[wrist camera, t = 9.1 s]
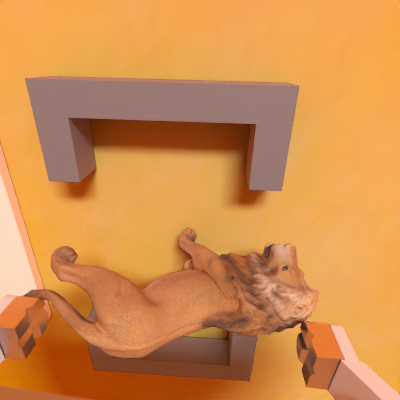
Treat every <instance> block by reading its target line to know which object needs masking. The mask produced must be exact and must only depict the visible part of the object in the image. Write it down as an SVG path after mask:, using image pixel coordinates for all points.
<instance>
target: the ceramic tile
mask: <svg viewBox="0 0 400 400" xmlns="http://www.w3.org/2000/svg"><path fill="white" fill-rule="evenodd" d="M35 289H36V290H37V289H44V287H43V284H42V280H41V277H40V274H39V270H38V267H37V264H36V260H35V257H34V254H33V250H32V247H31V244H30V240H29V237H28V234H27V230H26V227H25V224H24V220H23V217H22V214H21V210H20V207H19V204H18V201H17V197H16V194H15V191H14V187H13V184H12V181H11V177H10V174H9V171H8V167H7V164H6V161H5V157H4V154H3V151H2V147H1V144H0V300H1V299H2V298H3V297H4V296H6V295H16V296H23V295H25V294H26V293H28V292H29V291H30V290H35ZM44 302H45V306H44V307H43V308H44V309H45V310H46V311H47V312H48V319H49V317H50V316H51V310H50V307H49V304H48V300H44Z"/></svg>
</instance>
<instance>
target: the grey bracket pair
mask: <svg viewBox="0 0 400 400" xmlns="http://www.w3.org/2000/svg"><path fill="white" fill-rule="evenodd" d="M25 80H26V85H27V89H28V93H29V97H30V102H31V106H32V110H33V114H34V119H35V123H36V127H37V131H38V135H39V140H40V144H41V148H42V152H43V157H44V161H45V165H46V169H47V174H48V178H49V181H60V182H81V181H82V180H83V179H84V178H86V177H87V176H88V175H89V174H90V173H91V172H92V171H94V170H95V169H96V162H95V156H94V149H93V142H92V136H91V129H90V123H89V118H93V119H122V120H152V121H181V122H211V123H240V124H250V131H249V141H248V151H247V161H246V171H245V176H246V180H247V184H248V188H249V190H267V191H282V186H283V180H284V174H285V168H286V162H287V156H288V150H289V144H290V138H291V132H292V126H293V120H294V114H295V108H296V102H297V96H298V90H299V86H297V85H293V84H290V83H275V82H239V81H204V80H168V79H132V78H96V77H60V76H48V77H37V78H25ZM95 317H96V313H95V310H94V307H93V308H92V310H91V312H90V314H89V316H88V318H87V320H90V319H92V318H95ZM256 340H257V335H243V334H239V333H232V332H229V339H212V338H197V337H182V336H181V337H179V338H176V339H174V340H172V341H170V342H168V343H166V344H164V345H163V346H161V347H159V348H158V349H156V350H155V351H153V352H151V353H150V354H148V355H146V356H144V357H140V358H119V357H114V356H110V355H108V354H106V353H105V352H104V351H103V350H101V349H100V347H98V346H95V345H92V344H91V343H89V342H87V343H88V347H89V352H90V356H91V360H92V364H93V369H94V370H100V371H114V372H128V373H142V374H156V375H170V376H184V377H198V378H212V379H226V380H240V381H250V376H251V370H252V364H253V358H254V352H255V346H256Z"/></svg>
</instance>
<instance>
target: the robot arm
mask: <svg viewBox="0 0 400 400" xmlns="http://www.w3.org/2000/svg"><path fill="white" fill-rule="evenodd" d="M44 306H45V302H44V300H43V299H42V298H34V297H26V296H16V295H6V296H4V297H3V298H2V299H1V300H0V363H1V362H2V361H4V360H5V358H13V359H26V358H27V357H28V355H29V354H30V352H31V351H32V349H33V348H34V346H35V345H36V343H35V339H37V338H38V337H40V336H41V335H42V334H43V332H44V331H45V329H46V327H47V324H48V312H47V311H46V310H45V309H44V308H43V307H44ZM300 328H301V331H302V332H301V333H300V334H298V337H297V354H298V358H299V360H300V361H301V362H302V363H303V367H302V373H303V377H304V381H305V384H306V387H311V388H319V389H326V390H328V391H329V393H330V394H331V395H332V397H333V398H334V399H335V400H400V395H399V394H398V393H397V392H396V391H395V390H394V389H393V388H391V387H390V386H389V385H388V384H387V383H386V382H385V381H384V380H383V379H381V378H380V377H379V376H378V375H377V374H376V373H375V372H374V371H373V370H371V369H370V368H369V367H368V366H367V365H366V364H365V363H364V362H359V360H358V358H357V356H356V354H355V351H354V349H353V347H352V345H351V343H350V341H349V339H348V337H347V334H346V332H345V330H344V328H343V326H342V325H341V324H331V323H321V322H308V321H303V322H302V324H301V327H300Z"/></svg>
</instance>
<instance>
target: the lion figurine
mask: <svg viewBox="0 0 400 400" xmlns="http://www.w3.org/2000/svg"><path fill="white" fill-rule="evenodd" d="M196 237H197V235H196V233H195V231H194V230H193V229H190V228H186V229H185V230H184V231H183V232H182V233H181V235H180V236H179V246H180V247H181V248H182V249H183V250H184V251H185V252H187V253H188V254H190V255H191V257H192V258H191V259H188V260H187V261H186V262H185V264H184V266H183V269H184V271H178V272H173V273H170V274H167V275H164V276H162V277H159V278H158V279H156V280H154V281H153V282H151V283H150V284H149V285H148V286H147V287H146V288H145V289H140V288H138V287H136V286H135V285H134V284H133V283H132V282H131V281H129V280H128V279H127V278H125V277H123V276H121V275H119V274H117V273H115V272H113V271H110V270H108V269H105V268H100V267H93V266H86V265H78V264H73V263H74V261H75V260H76V259H77V257H78V255H77V253H76V252H75V251H74V249H73V248H70V247H68V246H63V247H60V248H58V249H56V250H55V251H54V252H53V254H52V256H51V268H52V270H53V272H54V273H55V274H56V276H57V278H58V279H59V280H60V281H65V282H71V283H73V284H76V285H77V286H79V287H80V288H82V289H83V290H84V291H85V292H87V294H88V295H89V297H90V299H91V301H92V304H93V307H94V310H95V313H96V317H95V318H92V319H90V320H86V319H85V318H84V317H83V316H82V315H81V314H80V313H79V312H78V311H77V310H76V309H75V308H74V307H73V306H71V305H70V304H69V303H68V302H67V301H66V300H65V299H64V298H63V297H62V296H60V295H59V294H58V293H56V292H54V291H52V290H44V289H37V290H36V289H35V290H30V291H29V292H28V293H26V294H25V295H23V296H26V297H34V298H42V299H43V300H49V301H50V302H51V303H52V304H53V306H54V307H55V308H56V309H57V311H58V312H59V313H60V315H61V316H62V317H63V318H64V320H65V321H66V322H67V323H68V325H69V326H70V327H71V328H72V329H73V330H74V331H75V332H76V333H77V334H79V335H80V336H81V337H82V338H83V339H85V340H86V341H87V342H89V343H91V344H92V345H95V346H98V347H100V349H101V350H103V351H104V352H105V353H106V354H108V355H110V356H114V357H119V358H140V357H144V356H146V355H148V354H150V353H151V352H153V351H155V350H156V349H158V348H159V347H161V346H163V345H164V344H166V343H168V342H170V341H172V340H174V339H176V338H179V337H181V336H184V335H187V334H189V333H193V332H197V331H200V330H202V329H206V328H209V327H218V328H221V329H224V330H227V331H229V332H232V333H239V334H243V335H257V334H259V333H264V334H266V335H268V334H271V333H272V332H281V331H283V330H284V329H287V328H293V327H295V326H296V325H297V324H299V323H302V322H303V321H306V319H307V318H308V317H310V316H311V313H312V312H313V311H314V309H315V306H316V302H317V301H318V294H319V293H320V292H319V291H316V290H313V289H312V288H311V287H310V285H309V284H308V283H307V282H306V281H305V280H304V273H303V271H302V270H301V269H299V268H298V265H297V257H296V247H295V246H294V245H293V244H290V243H289V244H286V245H285V244H273V243H268V244H266V245H265V248H264V253H263V255H261V254H257V253H251V254H249V255H248V256H240V255H238V254H234V253H229V254H226V255H225V254H223V255H221V256H218V255H217V254H216V253H214V252H213V251H211V250H210V249H208V248H206V247H205V246H203V245H200V244H197V243H195V242H194V241H195V239H196Z"/></svg>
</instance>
